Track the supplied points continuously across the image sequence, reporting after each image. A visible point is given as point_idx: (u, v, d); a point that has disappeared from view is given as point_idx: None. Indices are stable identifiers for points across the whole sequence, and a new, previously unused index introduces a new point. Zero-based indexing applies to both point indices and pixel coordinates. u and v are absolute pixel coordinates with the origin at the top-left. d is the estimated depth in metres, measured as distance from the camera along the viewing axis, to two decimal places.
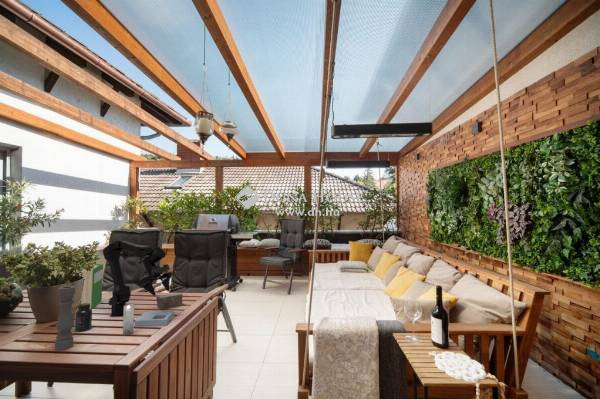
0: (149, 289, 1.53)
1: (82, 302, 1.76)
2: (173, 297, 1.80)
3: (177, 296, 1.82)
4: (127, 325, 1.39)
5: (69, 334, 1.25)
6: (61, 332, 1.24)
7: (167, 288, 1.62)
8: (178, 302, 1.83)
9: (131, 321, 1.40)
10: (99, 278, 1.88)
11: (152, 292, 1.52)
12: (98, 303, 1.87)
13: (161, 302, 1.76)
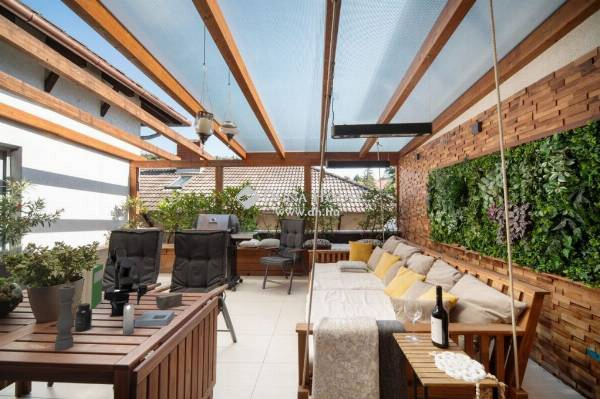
0: (113, 302, 1.44)
1: (82, 302, 1.76)
2: (173, 297, 1.81)
3: (177, 296, 1.82)
4: (127, 325, 1.39)
5: (69, 334, 1.25)
6: (61, 332, 1.24)
7: (137, 301, 1.49)
8: (178, 302, 1.83)
9: (131, 321, 1.40)
10: (99, 278, 1.88)
11: (114, 305, 1.43)
12: (98, 303, 1.87)
13: (161, 302, 1.76)
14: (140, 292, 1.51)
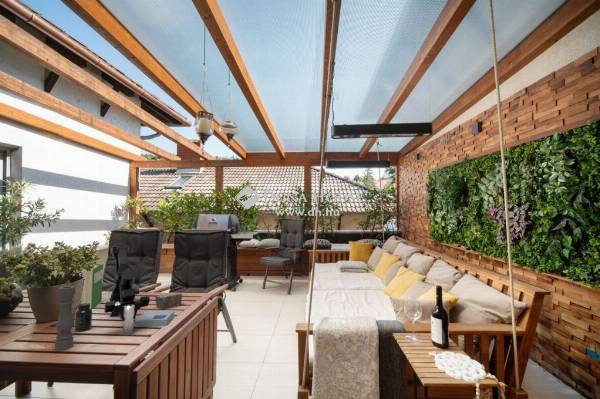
0: (119, 314, 1.41)
1: (82, 302, 1.76)
2: (173, 297, 1.81)
3: (176, 296, 1.83)
4: (127, 325, 1.39)
5: (69, 334, 1.25)
6: (61, 332, 1.24)
7: (134, 315, 1.43)
8: (177, 302, 1.84)
9: (131, 321, 1.40)
10: (99, 278, 1.88)
11: (121, 317, 1.39)
12: (98, 303, 1.87)
13: (161, 302, 1.77)
14: (137, 305, 1.45)
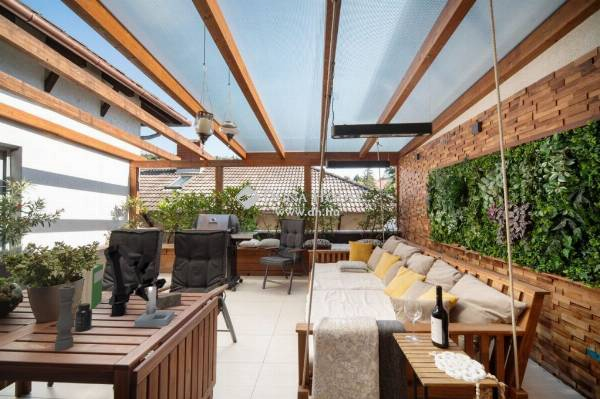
0: (142, 295, 1.49)
1: (82, 302, 1.76)
2: (172, 296, 1.82)
3: (176, 295, 1.83)
4: (151, 305, 1.48)
5: (69, 334, 1.25)
6: (61, 332, 1.24)
7: None
8: (177, 301, 1.84)
9: (155, 301, 1.50)
10: (99, 278, 1.88)
11: (145, 298, 1.48)
12: (98, 303, 1.87)
13: (161, 302, 1.77)
14: (157, 287, 1.55)
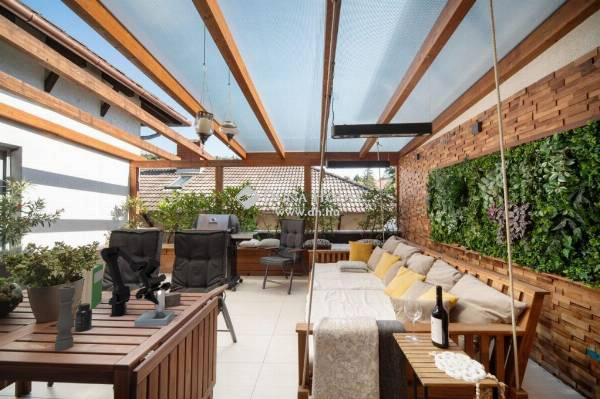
0: (152, 299, 1.53)
1: (82, 302, 1.76)
2: (172, 296, 1.82)
3: (176, 295, 1.84)
4: (161, 308, 1.54)
5: (69, 334, 1.25)
6: (61, 332, 1.24)
7: None
8: (177, 301, 1.85)
9: (164, 304, 1.56)
10: (99, 278, 1.88)
11: (155, 301, 1.53)
12: (98, 303, 1.87)
13: None
14: None
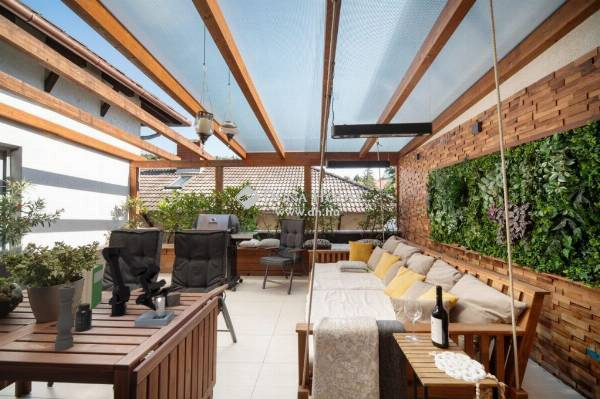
0: (149, 305, 1.52)
1: (82, 302, 1.76)
2: (172, 296, 1.82)
3: (176, 295, 1.84)
4: (161, 315, 1.54)
5: (69, 334, 1.25)
6: (61, 332, 1.24)
7: (165, 303, 1.59)
8: (176, 301, 1.85)
9: (164, 311, 1.56)
10: (99, 278, 1.88)
11: (153, 307, 1.52)
12: (98, 303, 1.87)
13: None
14: (166, 295, 1.61)
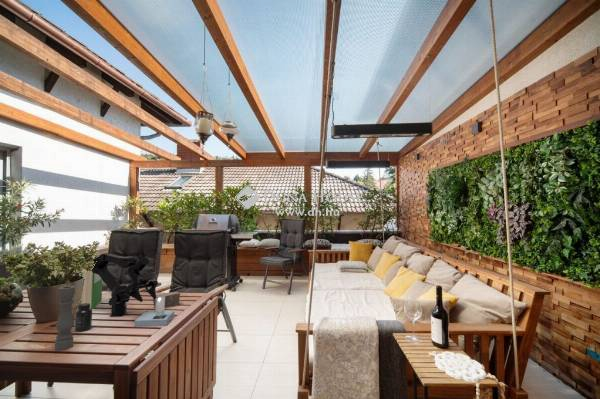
0: (136, 296, 1.55)
1: (82, 302, 1.76)
2: (171, 296, 1.83)
3: (175, 295, 1.84)
4: (161, 315, 1.54)
5: (69, 334, 1.25)
6: (61, 332, 1.24)
7: (153, 295, 1.64)
8: (176, 301, 1.86)
9: (164, 310, 1.56)
10: (99, 278, 1.88)
11: (139, 298, 1.55)
12: (98, 303, 1.87)
13: None
14: (154, 287, 1.67)
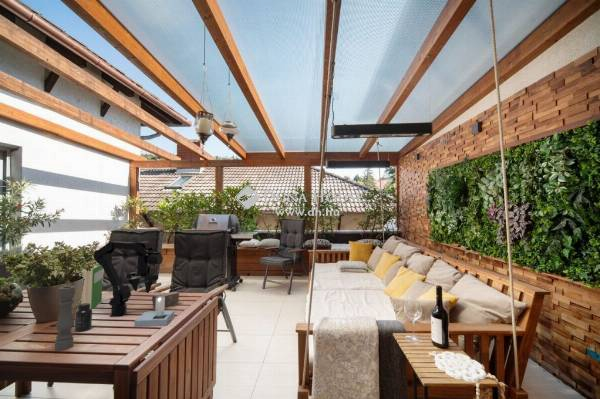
0: (148, 286, 1.64)
1: (82, 302, 1.76)
2: (171, 296, 1.83)
3: (174, 295, 1.85)
4: (161, 315, 1.54)
5: (69, 334, 1.25)
6: (61, 332, 1.24)
7: (136, 288, 1.69)
8: (175, 300, 1.86)
9: (163, 311, 1.56)
10: (99, 278, 1.88)
11: (148, 289, 1.65)
12: (98, 303, 1.87)
13: None
14: None
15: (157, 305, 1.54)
